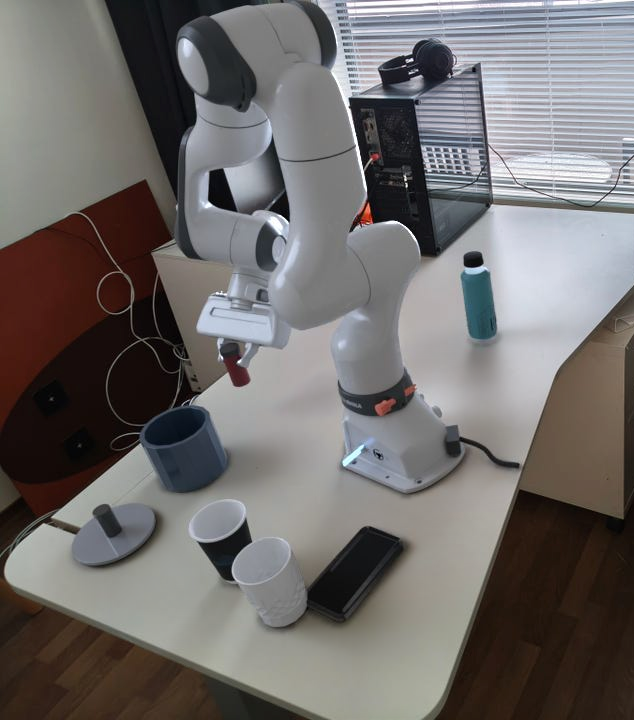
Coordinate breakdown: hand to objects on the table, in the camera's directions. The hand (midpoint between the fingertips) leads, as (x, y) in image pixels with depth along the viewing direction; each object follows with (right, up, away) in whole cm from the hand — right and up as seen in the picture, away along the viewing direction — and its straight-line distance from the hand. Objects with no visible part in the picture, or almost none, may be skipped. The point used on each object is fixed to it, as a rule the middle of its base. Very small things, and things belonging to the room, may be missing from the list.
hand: (232, 365), depth 131 cm
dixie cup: (+11, -31, -28) cm, 43 cm away
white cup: (+20, -34, -34) cm, 52 cm away
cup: (-4, -19, -7) cm, 20 cm away
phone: (+29, -30, -31) cm, 52 cm away
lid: (-12, -27, -20) cm, 35 cm away
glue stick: (+1, -3, +3) cm, 4 cm away
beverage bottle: (+48, +6, +19) cm, 52 cm away
